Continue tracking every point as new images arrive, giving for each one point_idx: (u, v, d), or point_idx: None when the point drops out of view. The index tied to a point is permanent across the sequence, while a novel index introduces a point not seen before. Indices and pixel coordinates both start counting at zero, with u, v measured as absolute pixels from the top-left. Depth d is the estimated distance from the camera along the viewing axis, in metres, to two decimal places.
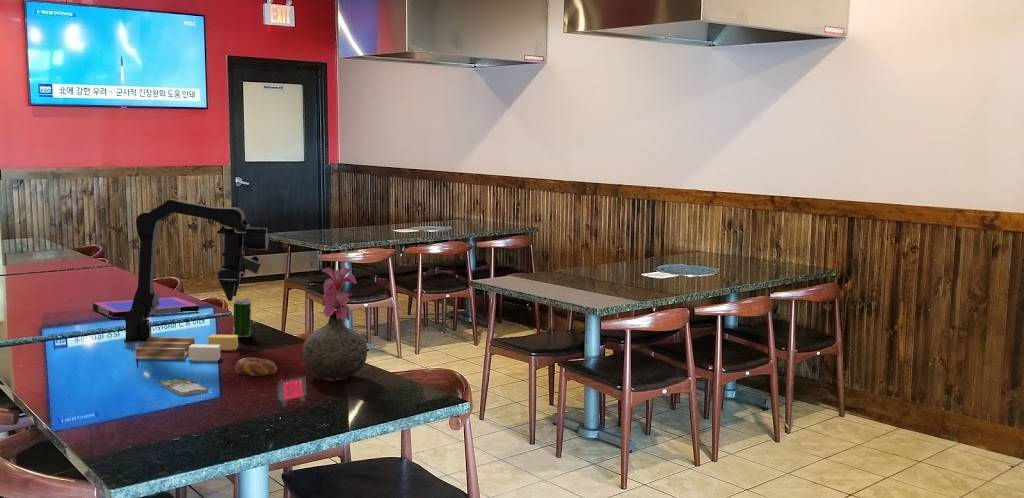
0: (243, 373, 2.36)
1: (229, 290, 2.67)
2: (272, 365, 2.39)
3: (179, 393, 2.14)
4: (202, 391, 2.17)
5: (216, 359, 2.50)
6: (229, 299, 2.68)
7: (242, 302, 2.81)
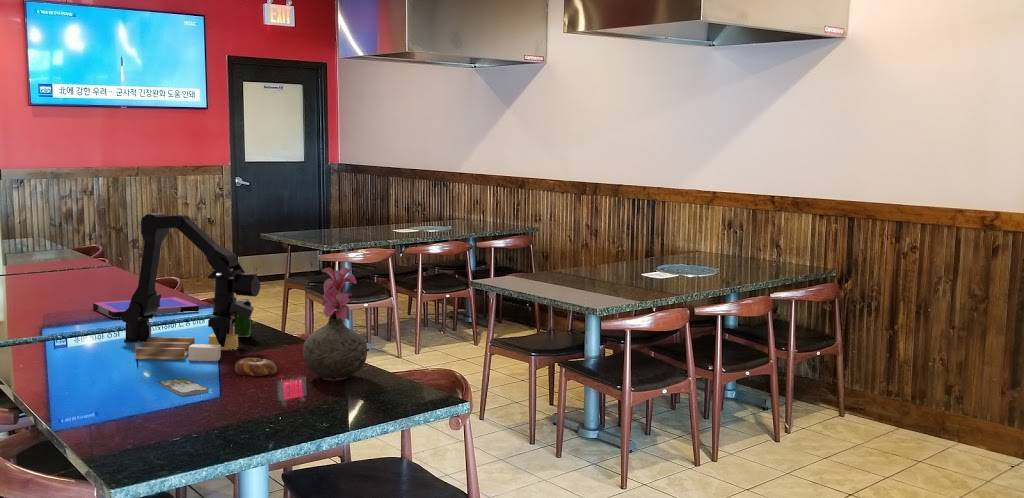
0: (243, 373, 2.36)
1: (221, 336, 2.62)
2: (272, 365, 2.39)
3: (179, 393, 2.14)
4: (202, 391, 2.17)
5: (215, 359, 2.50)
6: (221, 345, 2.64)
7: (242, 302, 2.81)
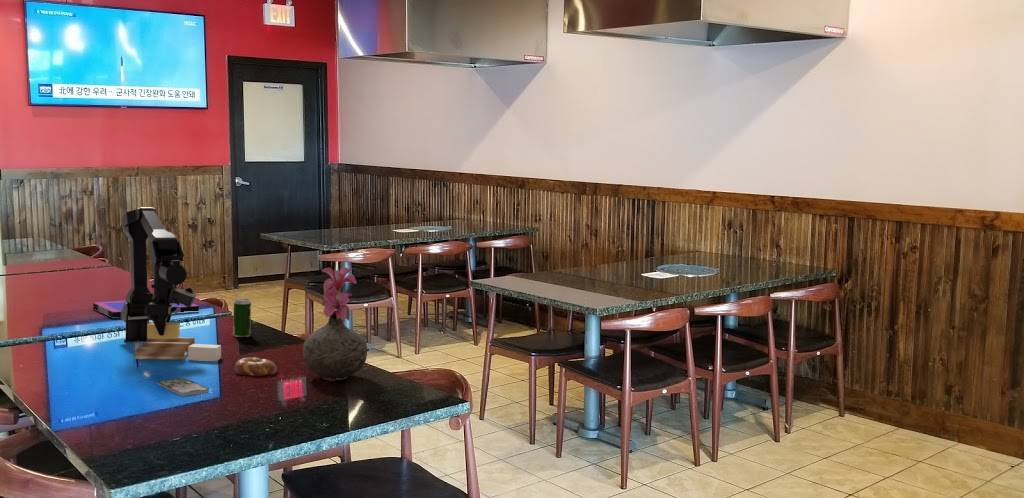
0: (243, 373, 2.36)
1: (160, 324, 2.49)
2: (272, 365, 2.39)
3: (179, 393, 2.14)
4: (202, 391, 2.17)
5: (214, 359, 2.50)
6: (161, 333, 2.50)
7: (242, 302, 2.81)
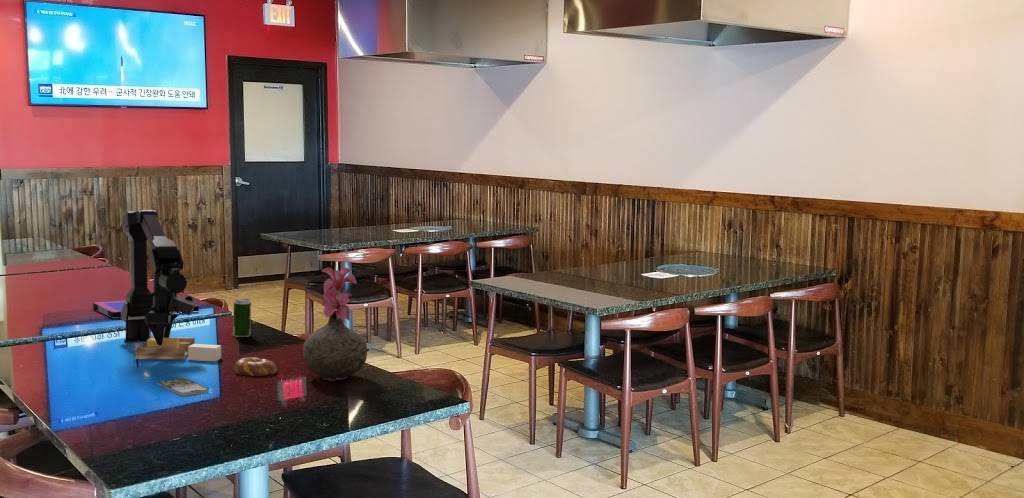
0: (242, 373, 2.36)
1: (158, 334, 2.47)
2: (271, 365, 2.39)
3: (179, 393, 2.14)
4: (202, 391, 2.17)
5: (214, 360, 2.50)
6: (159, 343, 2.48)
7: (242, 302, 2.81)
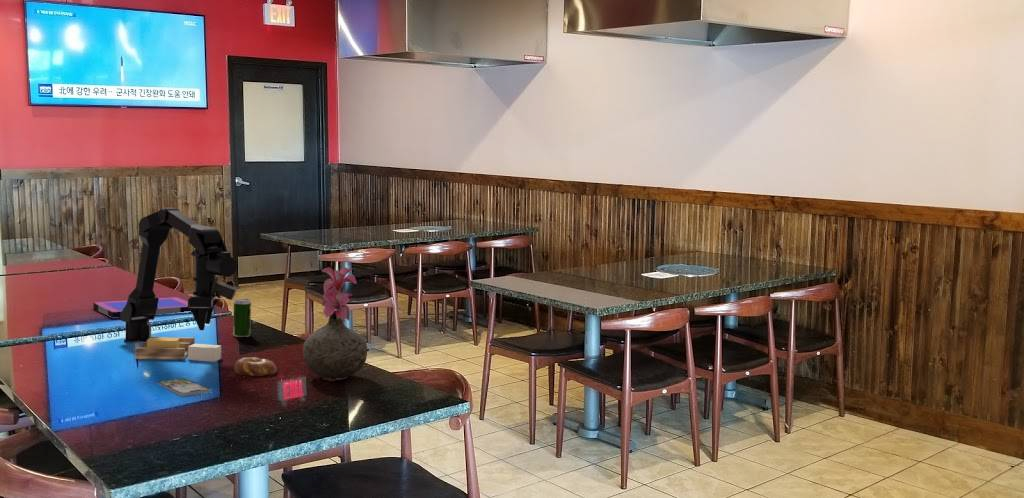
0: (242, 373, 2.36)
1: (201, 318, 2.45)
2: (271, 365, 2.39)
3: (179, 393, 2.14)
4: (202, 391, 2.17)
5: (213, 360, 2.50)
6: (201, 328, 2.46)
7: (242, 302, 2.81)
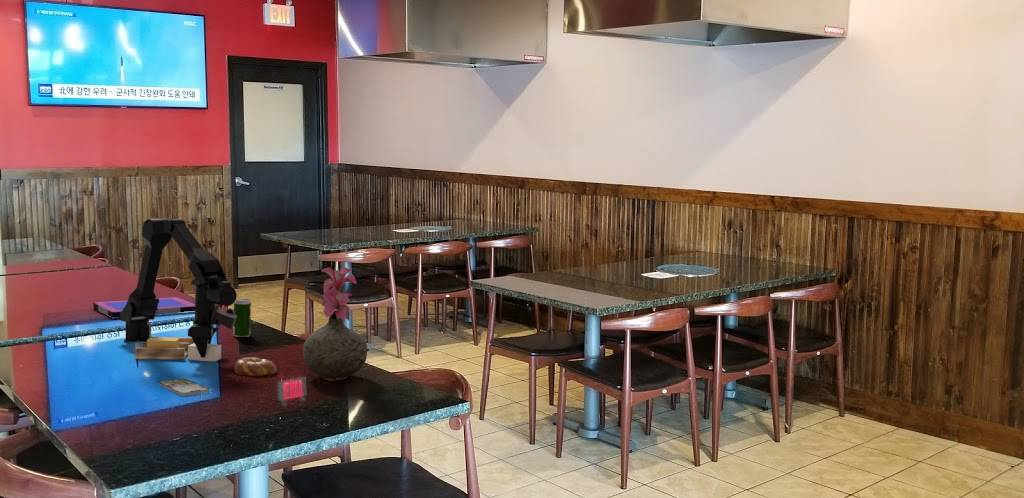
0: (242, 373, 2.36)
1: (202, 346, 2.48)
2: (271, 365, 2.38)
3: (180, 393, 2.14)
4: (203, 391, 2.17)
5: (213, 359, 2.49)
6: (202, 355, 2.49)
7: (242, 302, 2.81)
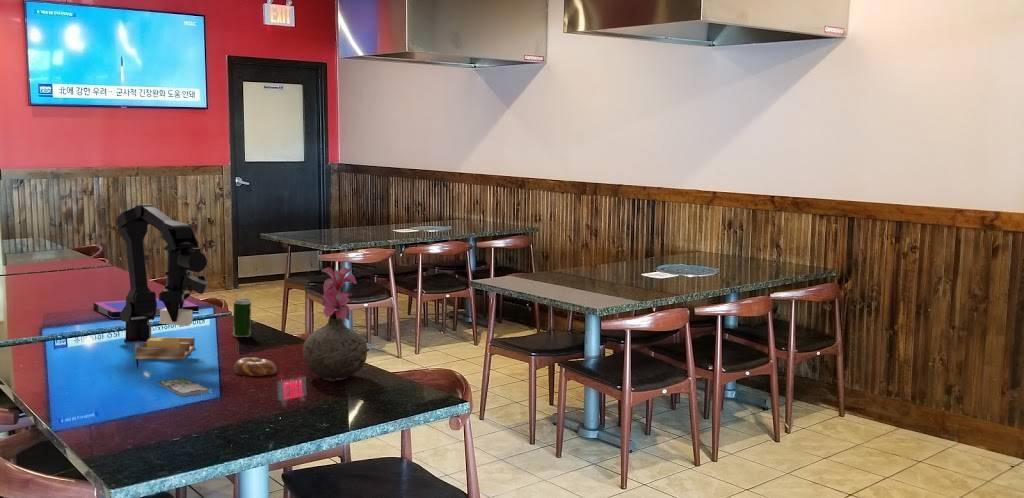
0: (242, 373, 2.36)
1: (173, 311, 2.54)
2: (271, 365, 2.39)
3: (180, 393, 2.14)
4: (203, 391, 2.17)
5: (184, 323, 2.55)
6: (173, 320, 2.55)
7: (242, 302, 2.81)
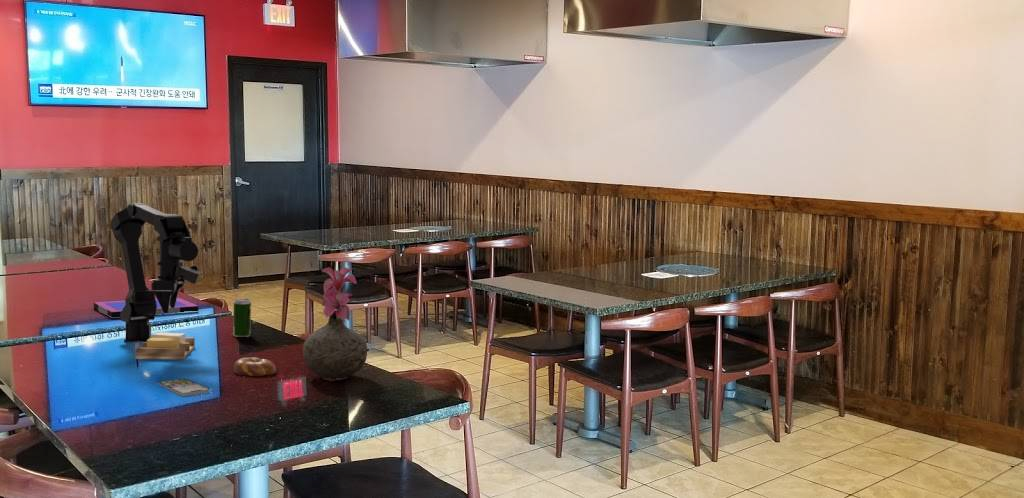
0: (241, 373, 2.36)
1: (164, 301, 2.53)
2: (270, 365, 2.38)
3: (180, 393, 2.14)
4: (203, 391, 2.17)
5: None
6: (165, 311, 2.54)
7: (242, 302, 2.81)
